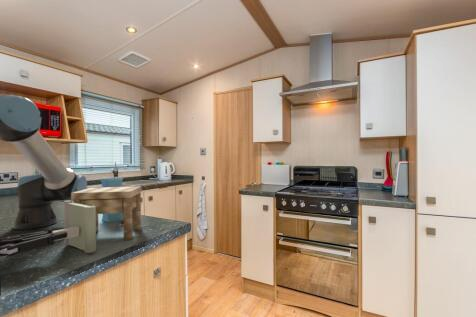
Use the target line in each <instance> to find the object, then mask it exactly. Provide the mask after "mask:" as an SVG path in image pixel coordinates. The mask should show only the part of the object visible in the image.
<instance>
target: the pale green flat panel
mask: <svg viewBox="0 0 476 317" xmlns="http://www.w3.org/2000/svg"><path fill="white" fill-rule="evenodd" d="M63 215H64V216H63V217H64V219H63V220H64V222H63V223H64V225H63V226H64V227H63V229H66V228H71V227H76V226H78V227H79V236H76V237H71V238H67V239H64V246H72V247H74V248H77V249H80V250H82V251H84V253H85V254H91V253H95V252H96V251H97V232H96V213H95V206H87V205H82V204H77V203H73V201H71V200H70V201H63Z"/></svg>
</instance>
